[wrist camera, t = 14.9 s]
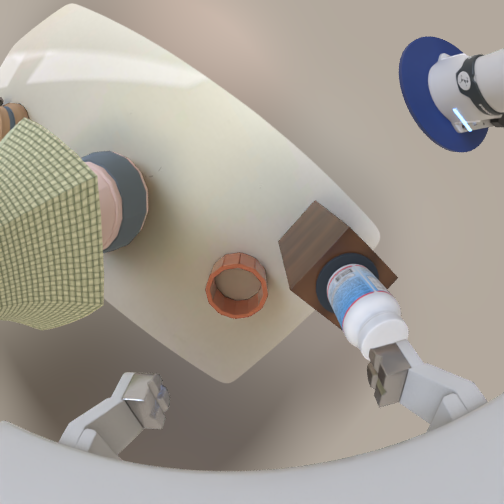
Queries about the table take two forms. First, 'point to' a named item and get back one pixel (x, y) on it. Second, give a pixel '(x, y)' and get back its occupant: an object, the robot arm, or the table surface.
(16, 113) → the alarm clock
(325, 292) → the coaster
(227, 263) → the desk pot
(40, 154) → the desk lamp
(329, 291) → the pill bottle
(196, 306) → the table surface
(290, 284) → the riser
